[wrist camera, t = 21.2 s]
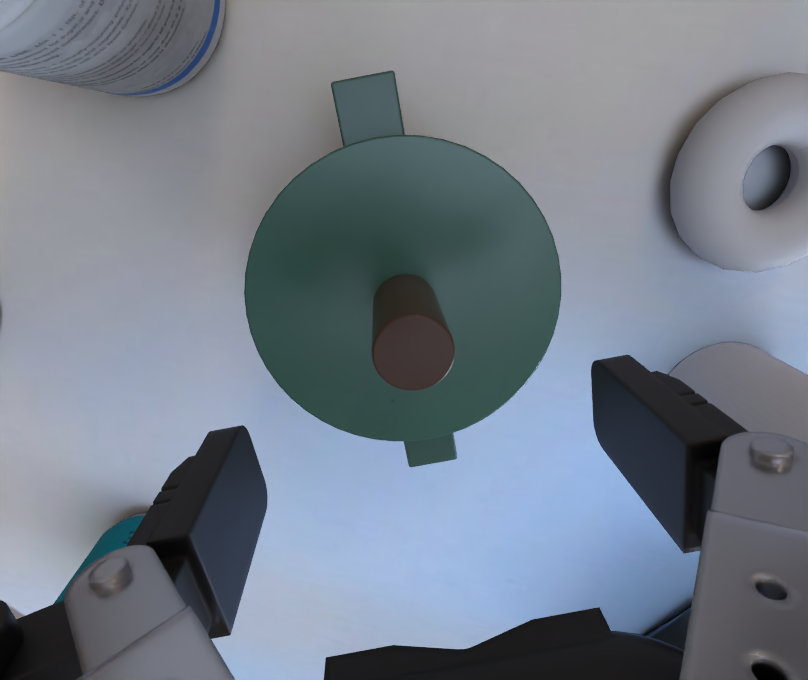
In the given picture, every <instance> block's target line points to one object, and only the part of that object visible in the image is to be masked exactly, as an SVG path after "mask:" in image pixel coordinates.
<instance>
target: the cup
mask: <svg viewBox="0 0 808 680" xmlns="http://www.w3.org/2000/svg"><path fill="white" fill-rule="evenodd" d="M669 376H672V377H674V378H677V379H680V380H681V381H682V382H684V383H685V384H686V385H688V386H689V387H690V388H692V389H693V390H694V391H695V394H696V393H698V394H700V395H701V396H702V397H704V398H705V399H706V400H708V403H712V404H713V405H714V406H716V407H717V408H718V409H720V410H721V411H722V412H724V413H725V414H726V415H728V416H729V417H730V418H732V419H733V420H734V421H736V422H737V423H738V424H740V425H741V426H742V427H744V428H745V429H746V430H748V431H749V432H753V431H757V432H771V433H777V434H782V435H786V436H789V437H792V438H795V439H798V440H800V441H803V442H805V443H807V444H808V375H807V374H805V373H803V372H802V371H800V370H798V369H796V368H794V367H792V366H790V365H788V364H786V363H785V362H783V361H781V360H779V359H777V358H775V357H773V356H771V355H769V354H767V353H766V352H764V351H762V350H760V349H758V348H756V347H754V346H751V345H748V344H744V343H738V342H726V343H719V344H714V345H711V346H708V347H705V348H703V349H700V350H698V351H696V352H694V353H693V354H691V355H689V356H688V357H687V358H685V359H684V360H683V361H681V362H680V363H679V364H678V365H677V366H676V367H675V368H674V369H673V370H672V371H671V372H670V374H669Z"/></svg>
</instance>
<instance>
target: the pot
mask: <svg viewBox="0 0 808 680" xmlns="http://www.w3.org/2000/svg"><path fill="white" fill-rule="evenodd" d="M331 88H332V93H333V98H334V103H335V107H336V112H337V117H338V122H339V127H340V132H341V137H342V142H343V147H345V146H348V145H350V144H352V143H356V142H360V141H364V140H368V139H371V138H376V137H385V136H393V135H405V134H404V128H403V122H402V116H401V110H400V103H399V97H398V91H397V85H396V79H395V73H394V71H387V72H382V73H376V74H371V75H366V76H361V77H356V78H350V79H345V80H340V81H335V82H332V83H331ZM404 444H405V449H406V454H407V459H408V464H409V466H410V467H415V466H420V465H426V464H432V463H437V462H443V461H449V460H454V459H457V453H456V447H455V441H454V435H453V433H451V434H448V435H444V436H439V437H435V438H431V439H424V440H416V441H404Z"/></svg>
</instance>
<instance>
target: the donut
mask: <svg viewBox="0 0 808 680" xmlns="http://www.w3.org/2000/svg"><path fill="white" fill-rule="evenodd" d="M771 145H779V146H781V147H783V148H784V149H785V150H786V151H787V152H788V154H789V158H790V161H791V175H790V178H789V181H788V184H787V187H786V189H785V190H784V192H783V193H782V195H781V196H780V198H779V199H778V200H776V201H775V202H774V203H773V204H772V205H771V206H770V207H768V208H766V209H764V210H759V211H756V210H752V209H750V208H749V207H748V205H747V204H746V203H745V201H744V197H743V181H744V177H745V174H746V171H747V169H748V167H749V166H750V164H751V162H752V161H753V159H754V158H755V157H756V156H757V155H758V154H759V153H760V152H761V151H762V150H764V149H766V148H767V147H769V146H771ZM670 201H671V214H672V216H673V219H674V222H675V224H676V227H677V230H678V233H679V235H680V237H681V238H682V240H683V241H684V242H685V243H686V244H687V245H688V246H689V247H690V248H691V250H692V251H693V252H694V253H695V254H696V255H697V256H698V257H700V258H701V259H703V260H705V261H708V262H710V263H712V264H714V265H716V266H718V267H720V268H722V269H726V270H736V271H746V272H761V271H765V270H770V269H775V268H779V267H784V266H787V265H790V264H792V263H794V262H796V261H798V260H799V259H801V258H803V257H805V256H807V255H808V74H800V73H789V72H788V73H783V74H779V75H775V76H770V77H766V78H761V79H757V80H754V81H752V82H750V83H748V84H746V85H744V86H743V87H741V88H739V89H737V90H736V91H734V92H732V93H730V94H729V95H727V96H725V97H724V98H722V99H720V100H719V101H718V102H717V103H716V104H715V105H714V106H713V107H712V108H711V109H710V110H709V111H708V112H707V113H706V114H705V115H704V116H703V117H702V118H701V119H700V120H699V121H698V122H697V123H696V124H695V126H694V128H693V129H692V131H691V133H690V134H689V136H688V138H687V140H686V141H685V143H684V145H683V146H682V148H681V150H680V152H679V153H678V156H677V159H676V163H675V167H674V170H673V174H672V178H671V181H670Z"/></svg>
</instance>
